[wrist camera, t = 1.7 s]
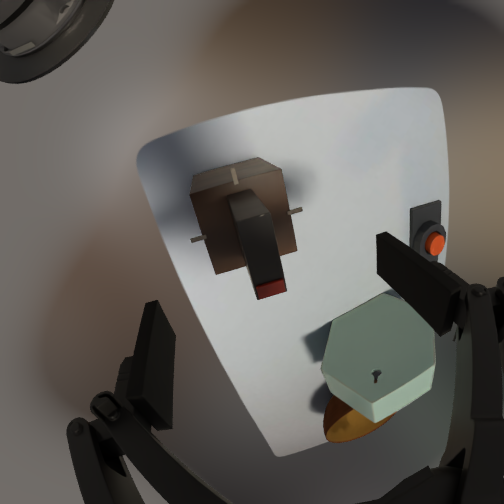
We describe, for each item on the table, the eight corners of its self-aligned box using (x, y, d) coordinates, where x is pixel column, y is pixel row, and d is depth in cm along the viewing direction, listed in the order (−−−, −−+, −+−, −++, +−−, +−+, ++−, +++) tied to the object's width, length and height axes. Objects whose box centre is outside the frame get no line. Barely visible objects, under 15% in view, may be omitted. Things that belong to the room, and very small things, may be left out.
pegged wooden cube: (181, 169, 31) (172, 186, 22) (265, 146, 32) (291, 153, 23) (205, 246, 36) (208, 288, 27) (282, 223, 36) (310, 258, 27)
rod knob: (225, 195, 23) (235, 223, 17) (251, 188, 23) (271, 213, 17) (243, 257, 26) (258, 302, 19) (266, 250, 26) (288, 293, 20)
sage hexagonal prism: (345, 324, 52) (322, 421, 37) (337, 297, 49) (310, 401, 34) (428, 317, 43) (429, 421, 28) (429, 287, 40) (435, 400, 25)
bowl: (379, 347, 51) (402, 381, 42) (384, 386, 59) (401, 414, 50) (302, 387, 52) (317, 426, 43) (321, 418, 59) (334, 450, 50)
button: (425, 234, 39) (431, 238, 37) (439, 229, 39) (445, 232, 37) (423, 254, 40) (429, 258, 39) (438, 248, 40) (443, 252, 39)
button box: (409, 208, 39) (419, 213, 36) (438, 200, 39) (448, 204, 37) (408, 272, 44) (416, 279, 42) (435, 261, 44) (443, 267, 42)
